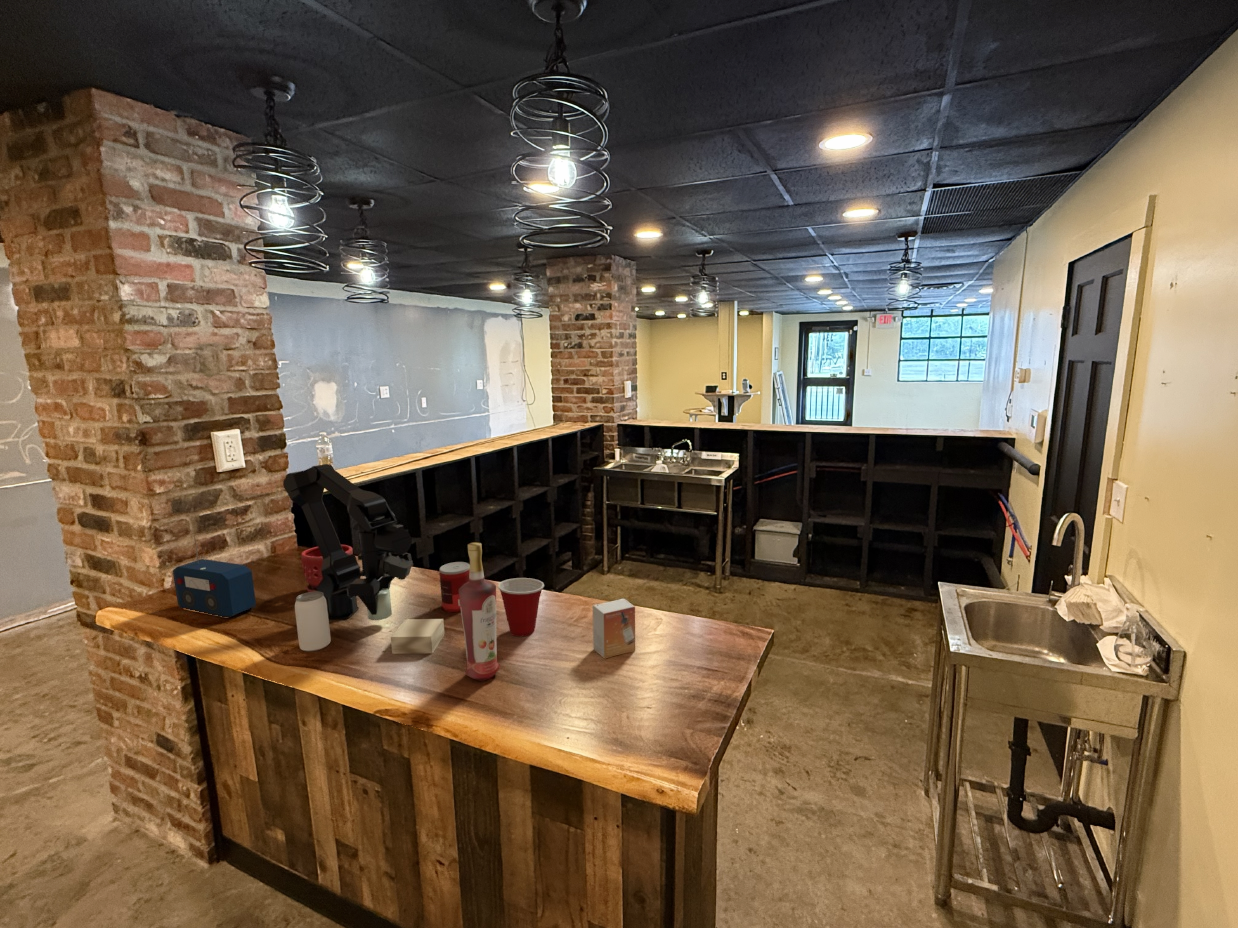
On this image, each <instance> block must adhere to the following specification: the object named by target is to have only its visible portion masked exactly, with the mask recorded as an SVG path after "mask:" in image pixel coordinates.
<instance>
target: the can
mask: <svg viewBox="0 0 1238 928" xmlns="http://www.w3.org/2000/svg"><path fill="white" fill-rule="evenodd" d="M323 595H324V594H323V593H322V592H308V591H307V592H305V593H301V594H299V595H298V596H296V598H295V603H294V612H295V613H294V614H295V622H296V630H297V637H298V644H299V649H300V650H301V651H303V652H315V651H316V652H317V651H319V650H322V649H324V648H327V647H328V646H329V644H330V643H331V641H332V640H331V631H330V630H331V629H330V619H328V610H327V602H326V599H325V597H324V596H323Z"/></svg>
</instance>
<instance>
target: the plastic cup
mask: <svg viewBox="0 0 1238 928" xmlns="http://www.w3.org/2000/svg"><path fill="white" fill-rule="evenodd" d="M497 586H498V590H499V592H500V595H501V598H502V602H503V607H504V611H505V616H506V621H507V623H508V629H509V631H510V634H511V635H512V636H514V637H527V636H530V635H531V634H533V633H534V632H535V629H536V624H537V619H538V611H539V604H540V598H541V596H542V595H541V594H542V590H543V589H544V588H545V584H544V582H543V581H541V580H539V579H535V578H530V577H529V578H527V577H516V578H509V579H505V580H502V581H500V582H499V583H498V584H497Z"/></svg>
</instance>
